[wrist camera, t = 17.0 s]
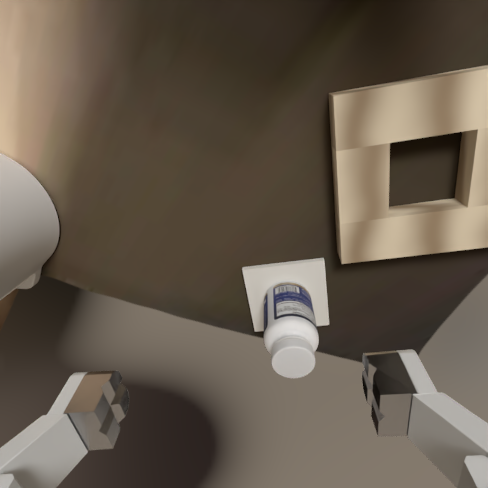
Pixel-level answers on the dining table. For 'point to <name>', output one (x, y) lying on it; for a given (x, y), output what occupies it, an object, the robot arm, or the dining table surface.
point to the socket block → (378, 163)
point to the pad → (298, 271)
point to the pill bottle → (290, 329)
